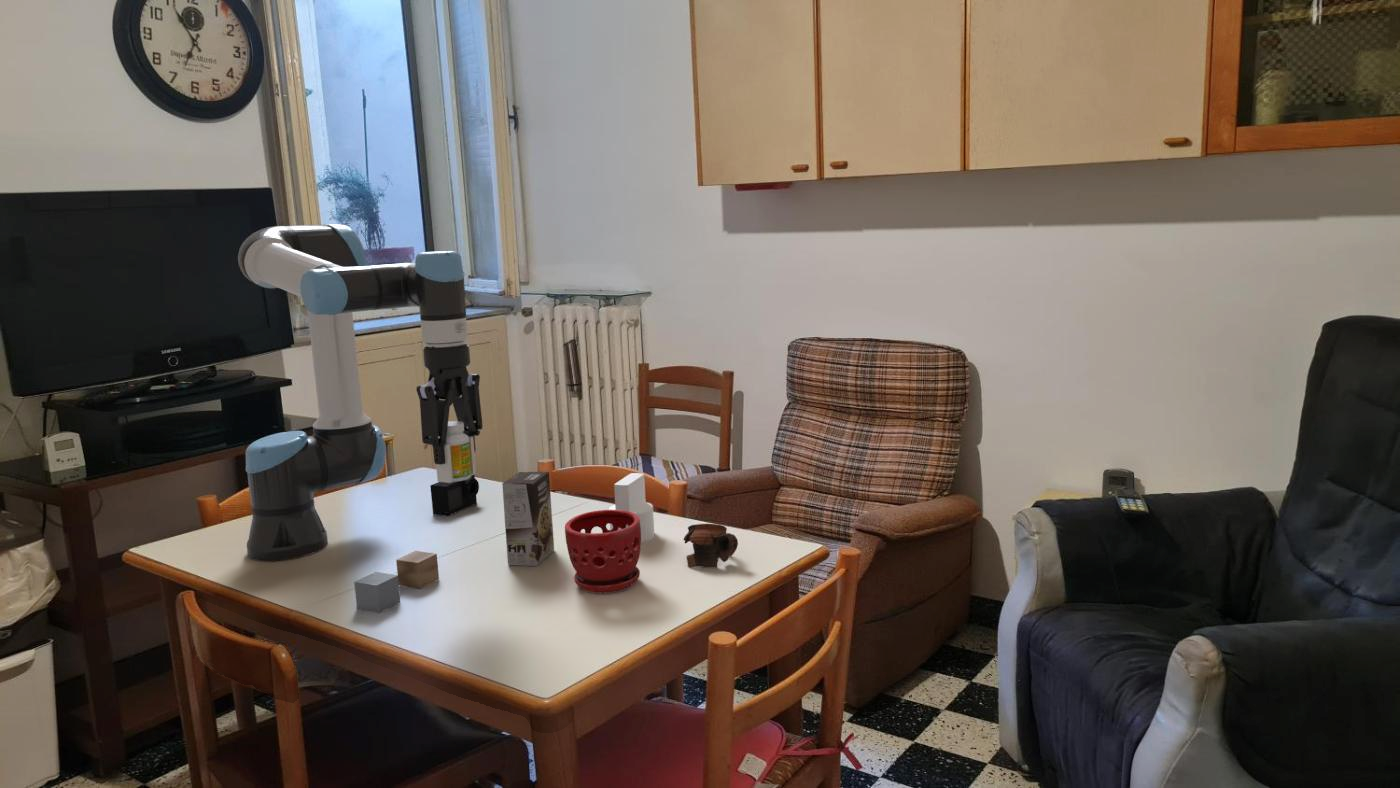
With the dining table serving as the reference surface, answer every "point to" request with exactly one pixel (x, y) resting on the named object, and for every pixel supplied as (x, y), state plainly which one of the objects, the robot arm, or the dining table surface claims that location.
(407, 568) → the walnut block
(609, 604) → the dining table surface
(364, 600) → the slate block
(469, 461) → the supplement bottle
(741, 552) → the dining table surface
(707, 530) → the pottery mug
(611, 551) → the plant pot
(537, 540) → the coffee box
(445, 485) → the digital camera
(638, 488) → the base with upright slab
